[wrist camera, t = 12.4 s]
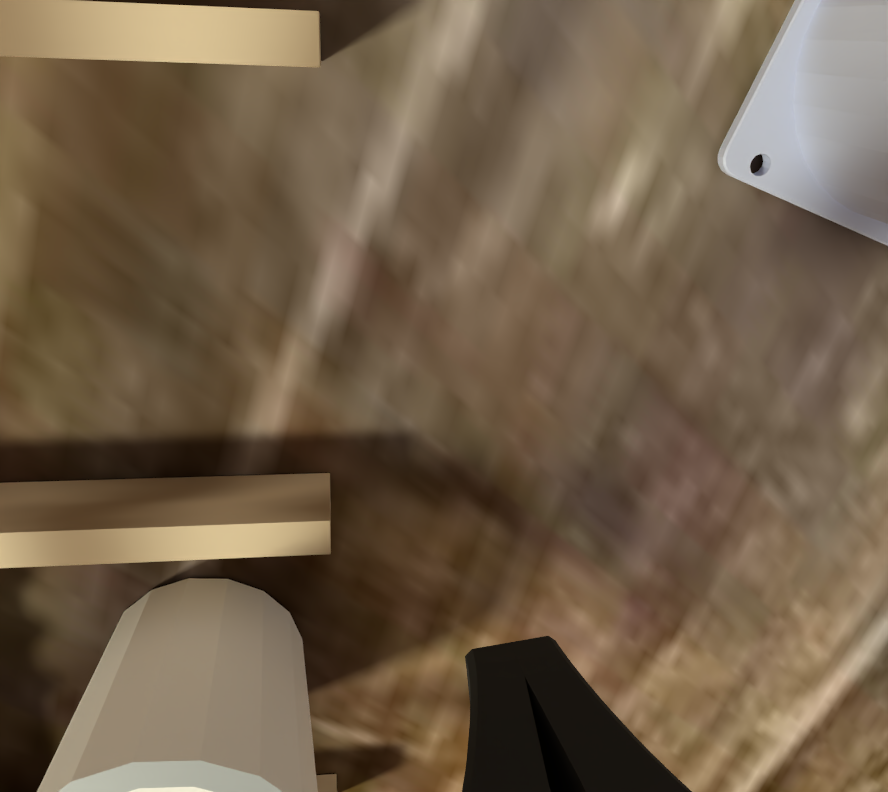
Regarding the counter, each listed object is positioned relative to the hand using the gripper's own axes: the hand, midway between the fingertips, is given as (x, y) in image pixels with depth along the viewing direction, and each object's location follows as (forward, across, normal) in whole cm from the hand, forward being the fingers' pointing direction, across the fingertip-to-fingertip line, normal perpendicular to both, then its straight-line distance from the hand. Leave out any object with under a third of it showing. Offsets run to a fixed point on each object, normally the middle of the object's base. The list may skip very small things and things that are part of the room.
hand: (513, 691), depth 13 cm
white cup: (+11, +7, +7) cm, 15 cm away
